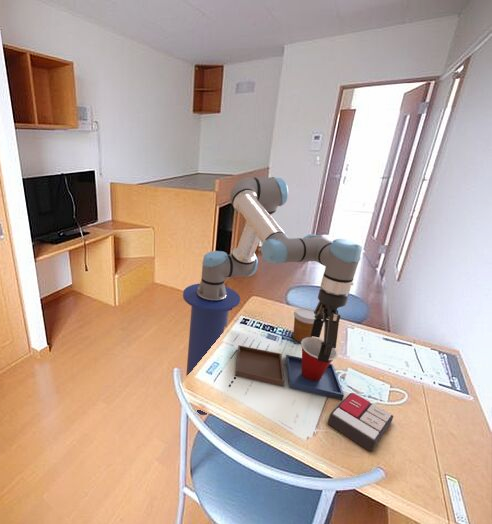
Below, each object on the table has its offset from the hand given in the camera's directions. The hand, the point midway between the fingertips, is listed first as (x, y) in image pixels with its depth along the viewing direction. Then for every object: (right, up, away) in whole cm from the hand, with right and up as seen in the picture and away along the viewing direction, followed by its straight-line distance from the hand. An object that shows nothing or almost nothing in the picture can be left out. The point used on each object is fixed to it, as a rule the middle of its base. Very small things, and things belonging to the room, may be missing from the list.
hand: (318, 348), depth 100 cm
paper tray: (-16, -9, +9) cm, 21 cm away
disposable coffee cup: (+8, -3, +25) cm, 27 cm away
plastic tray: (0, -11, +4) cm, 12 cm away
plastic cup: (0, -11, +4) cm, 12 cm away
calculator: (+4, -18, -13) cm, 23 cm away
